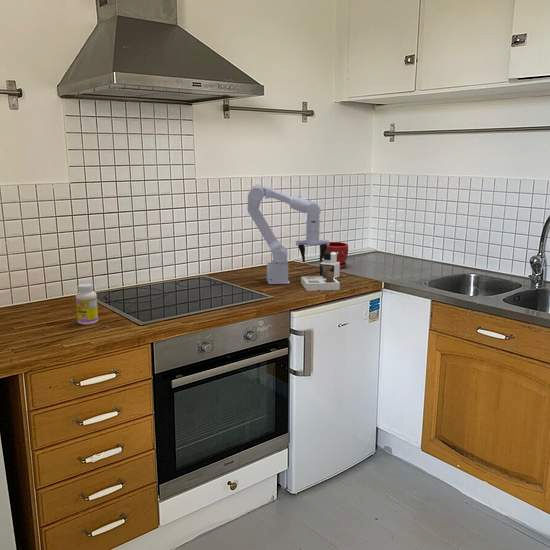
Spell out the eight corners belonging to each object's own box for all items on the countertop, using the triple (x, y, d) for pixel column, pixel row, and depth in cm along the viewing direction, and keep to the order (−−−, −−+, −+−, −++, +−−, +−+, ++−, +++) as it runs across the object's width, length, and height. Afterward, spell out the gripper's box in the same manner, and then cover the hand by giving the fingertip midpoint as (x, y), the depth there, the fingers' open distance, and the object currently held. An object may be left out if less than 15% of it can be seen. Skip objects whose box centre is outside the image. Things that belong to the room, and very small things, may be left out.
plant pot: (316, 265, 284) (317, 242, 281) (339, 263, 289) (339, 241, 287) (330, 270, 272) (330, 246, 270) (352, 268, 278) (353, 244, 275)
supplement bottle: (73, 322, 186) (70, 285, 183) (89, 318, 191) (87, 281, 189) (86, 326, 182) (83, 288, 180) (102, 321, 188) (100, 284, 185)
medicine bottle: (319, 278, 255) (319, 252, 253) (325, 275, 261) (325, 250, 259) (333, 280, 252) (334, 253, 249) (339, 277, 258) (340, 251, 256)
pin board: (306, 290, 232) (307, 272, 230) (301, 283, 245) (301, 265, 243) (339, 290, 233) (340, 271, 232) (332, 282, 247) (332, 264, 245)
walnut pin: (325, 287, 237) (325, 271, 236) (331, 287, 238) (332, 271, 237) (327, 289, 235) (327, 273, 233) (334, 288, 235) (334, 272, 234)
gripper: (297, 232, 237) (297, 263, 240) (331, 231, 239) (330, 263, 242) (295, 230, 244) (294, 260, 247) (327, 229, 246) (326, 260, 249)
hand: (312, 261), depth 245 cm, fingers open, 7 cm apart
